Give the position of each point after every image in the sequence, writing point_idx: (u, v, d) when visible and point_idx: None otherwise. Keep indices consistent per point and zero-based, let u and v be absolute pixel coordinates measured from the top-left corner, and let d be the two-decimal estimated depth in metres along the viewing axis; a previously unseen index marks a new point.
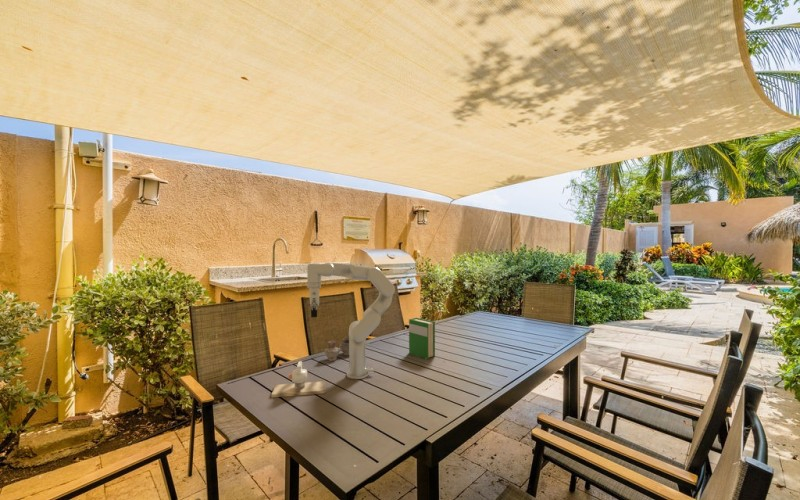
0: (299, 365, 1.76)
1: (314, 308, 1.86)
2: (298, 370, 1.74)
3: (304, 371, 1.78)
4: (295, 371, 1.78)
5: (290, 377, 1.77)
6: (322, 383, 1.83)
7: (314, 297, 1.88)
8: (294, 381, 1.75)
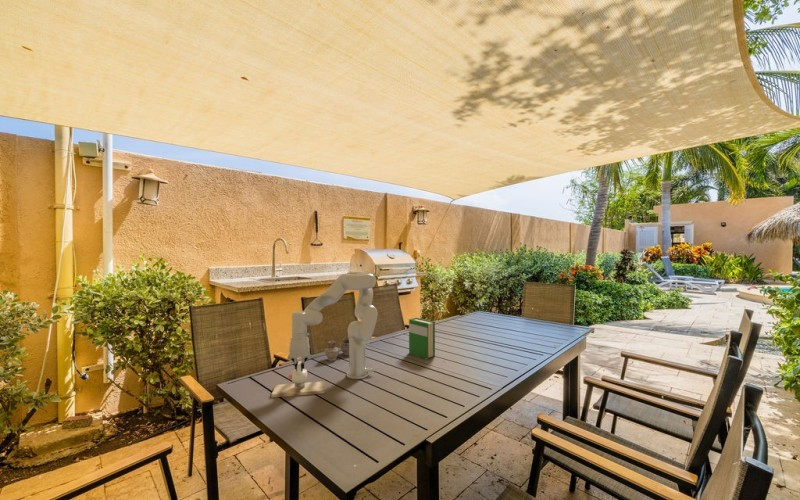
0: (299, 365, 1.76)
1: None
2: (298, 370, 1.74)
3: (304, 371, 1.78)
4: (295, 371, 1.78)
5: (290, 377, 1.77)
6: (322, 383, 1.83)
7: (309, 348, 1.79)
8: (294, 381, 1.75)
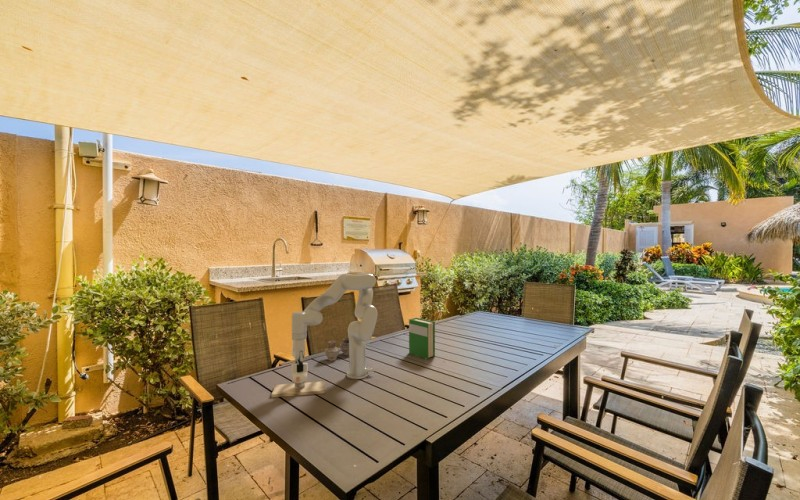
0: (304, 363, 1.78)
1: None
2: (307, 368, 1.78)
3: None
4: (298, 372, 1.76)
5: (299, 379, 1.74)
6: (322, 383, 1.83)
7: None
8: (304, 380, 1.76)
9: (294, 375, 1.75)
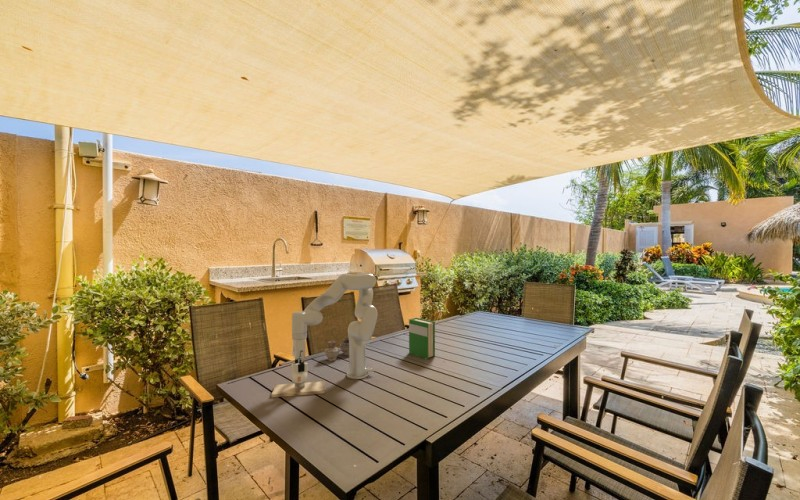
0: (304, 363, 1.79)
1: None
2: (307, 367, 1.79)
3: None
4: (298, 372, 1.76)
5: (300, 379, 1.74)
6: (322, 383, 1.83)
7: None
8: (305, 380, 1.77)
9: (295, 375, 1.75)
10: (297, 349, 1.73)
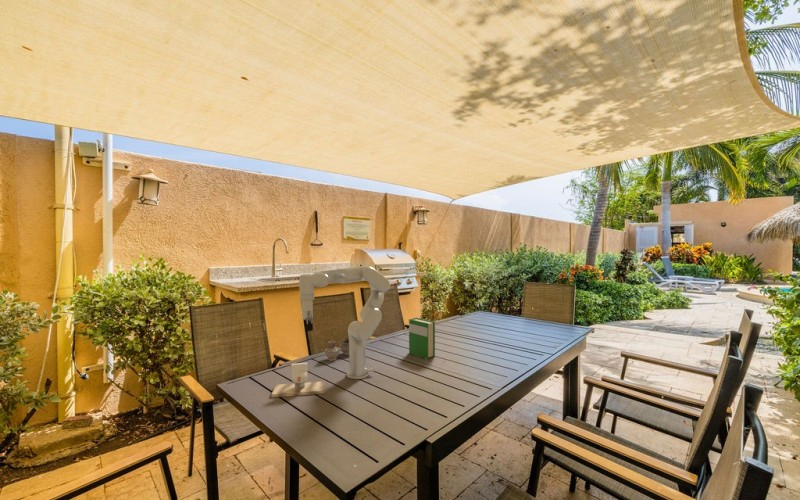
0: (304, 363, 1.79)
1: None
2: (307, 367, 1.79)
3: None
4: (298, 372, 1.76)
5: (300, 379, 1.74)
6: (322, 383, 1.83)
7: None
8: (305, 380, 1.77)
9: (295, 375, 1.75)
10: (304, 309, 1.78)
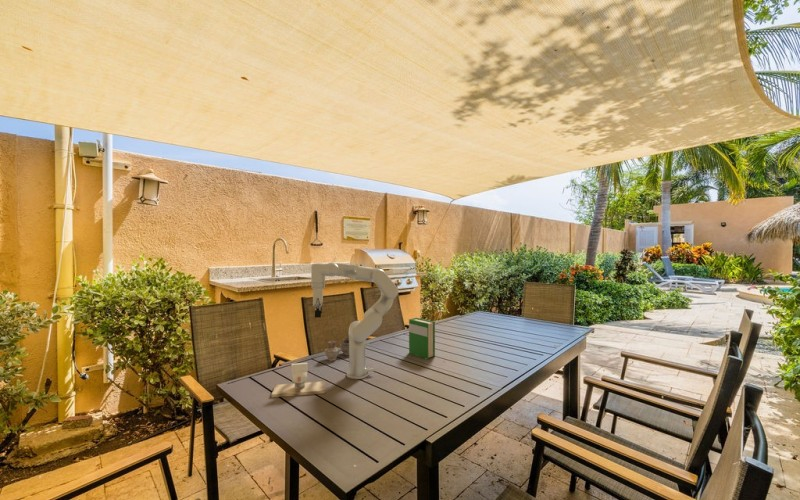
0: (304, 363, 1.79)
1: None
2: (307, 367, 1.79)
3: None
4: (298, 372, 1.76)
5: (300, 379, 1.74)
6: (322, 383, 1.83)
7: None
8: (305, 380, 1.77)
9: (295, 375, 1.75)
10: (314, 296, 1.87)
